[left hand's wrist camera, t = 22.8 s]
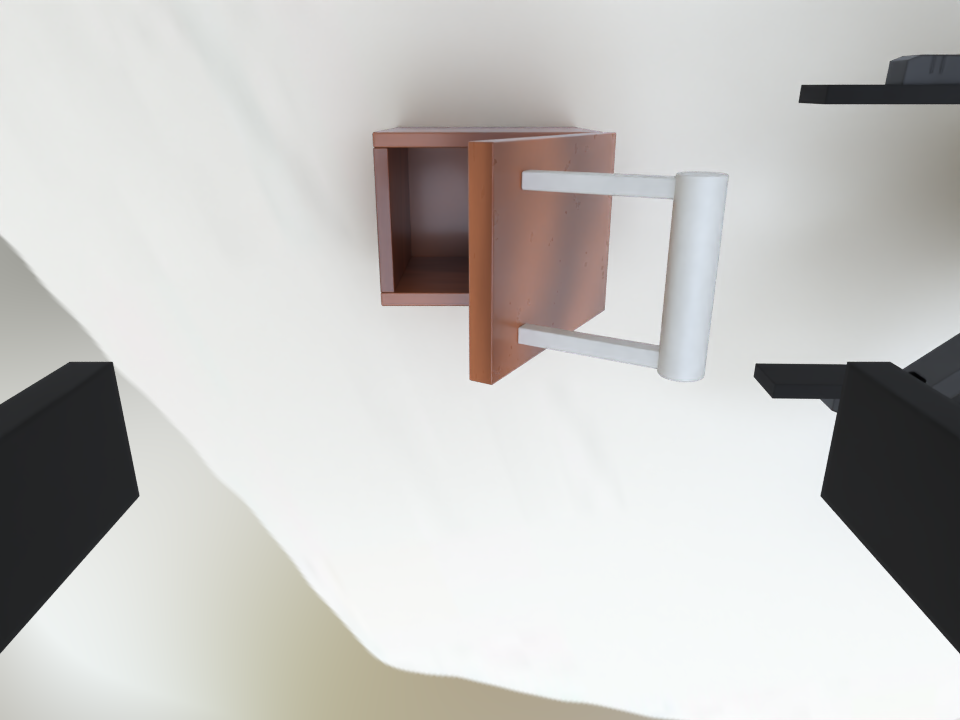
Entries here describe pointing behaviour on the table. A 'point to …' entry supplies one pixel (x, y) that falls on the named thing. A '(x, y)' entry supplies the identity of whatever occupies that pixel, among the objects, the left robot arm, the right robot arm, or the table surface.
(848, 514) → the left robot arm
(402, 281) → the chest
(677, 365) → the lid
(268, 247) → the table surface
